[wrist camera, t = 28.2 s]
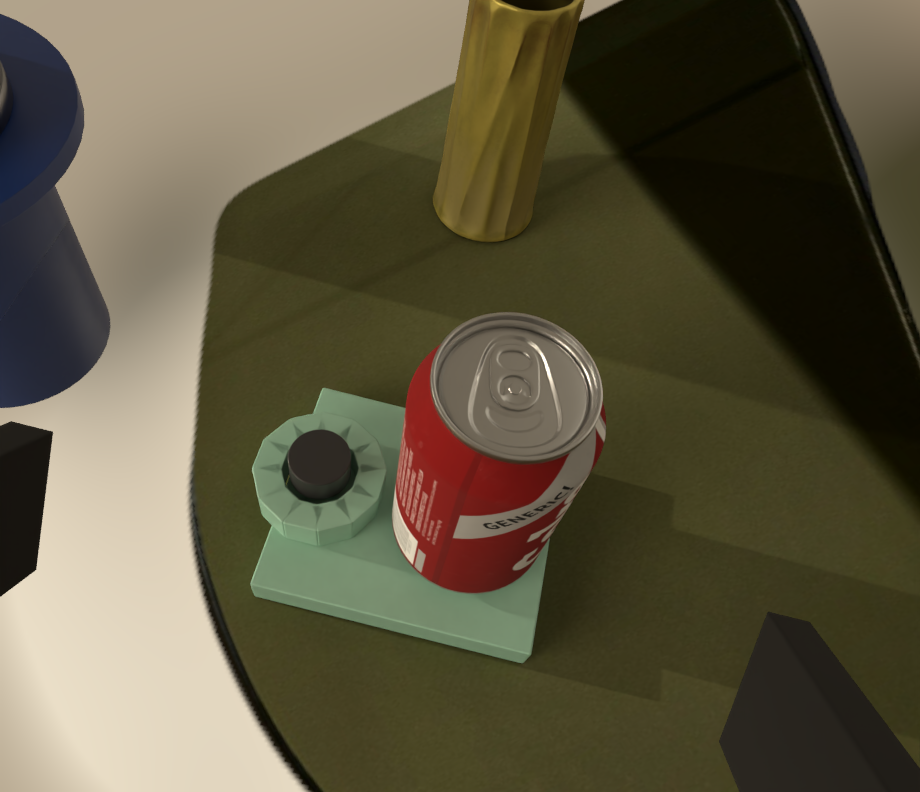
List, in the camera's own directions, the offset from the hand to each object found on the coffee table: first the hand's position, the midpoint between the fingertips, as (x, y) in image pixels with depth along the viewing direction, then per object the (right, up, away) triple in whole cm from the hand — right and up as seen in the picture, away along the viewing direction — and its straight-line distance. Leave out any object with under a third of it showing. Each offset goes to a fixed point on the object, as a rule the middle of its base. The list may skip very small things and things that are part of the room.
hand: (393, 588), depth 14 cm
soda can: (+2, -2, +21) cm, 21 cm away
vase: (+3, +15, +33) cm, 37 cm away
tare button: (-5, 0, +19) cm, 20 cm away
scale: (-1, -3, +22) cm, 22 cm away
